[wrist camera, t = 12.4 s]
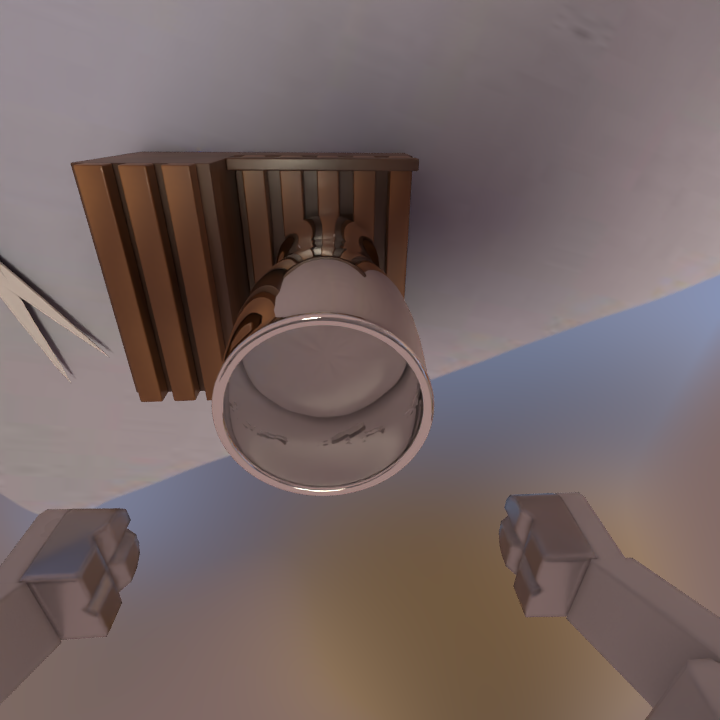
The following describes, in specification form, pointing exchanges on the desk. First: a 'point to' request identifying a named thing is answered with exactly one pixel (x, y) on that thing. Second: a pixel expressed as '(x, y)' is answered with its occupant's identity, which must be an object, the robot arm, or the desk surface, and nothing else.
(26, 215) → the desk surface
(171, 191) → the rack
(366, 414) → the beer glass
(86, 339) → the scissors
